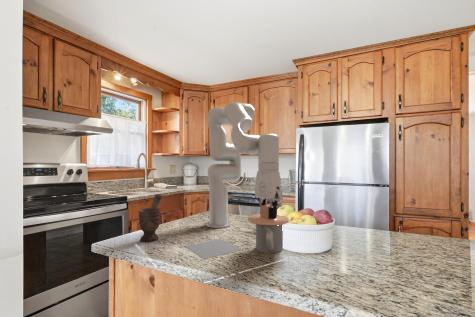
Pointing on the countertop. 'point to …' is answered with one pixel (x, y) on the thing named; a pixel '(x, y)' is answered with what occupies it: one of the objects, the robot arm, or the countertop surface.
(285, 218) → the lid
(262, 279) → the countertop surface
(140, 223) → the mortar and pestle
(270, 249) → the coffee mug
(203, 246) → the mat
